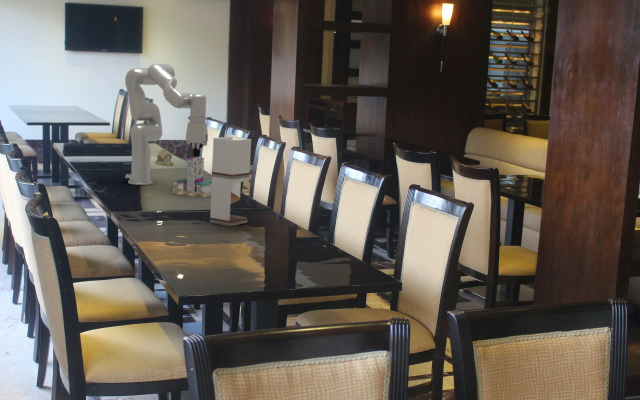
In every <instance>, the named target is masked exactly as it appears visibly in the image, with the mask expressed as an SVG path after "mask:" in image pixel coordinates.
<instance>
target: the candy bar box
mask: <svg viewBox="0 0 640 400" xmlns="http://www.w3.org/2000/svg"><path fill="white" fill-rule="evenodd" d="M204 163H205V157H200V156H199V157H194V156H193V157H191V158H187V159H186V178H187V190H186V191H187V192H197V183H200V182H204V173H205V172H204V170H205V166H204V165H205V164H204Z"/></svg>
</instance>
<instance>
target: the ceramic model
mask: <svg viewBox="0 0 640 400" xmlns="http://www.w3.org/2000/svg"><path fill="white" fill-rule="evenodd" d="M172 158H173V156H172V154H171V153H170V152H169V151H168V150H167V148H163V149H161V150H160V151H159V152H158V153H157V154H156V159H157V160H155V162H154V165H158V166H162V167H163V166H166V167H167V166H168V167H169V166H173V165H174V162H173V161H172Z"/></svg>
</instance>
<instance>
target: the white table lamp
mask: <svg viewBox="0 0 640 400" xmlns="http://www.w3.org/2000/svg"><path fill="white" fill-rule="evenodd" d="M251 147H252V139H251V138H248V139H246V138H245V139H233V136H227V137H223V136H221V137H213V138H212V164H211V166H212V167H211V168H212V169H211V181H212V186H211V196H210V213H209V214H210V215H209V216H210V218H209V223H212V224H217V225H221V226H222V225H223V226H229V227H232V226H233V227H234V226H236V225H241V224H246V223H248V217H247V216H246V217H245V216H241V215H240V216H239V215H234V214H231V205H232V204H234V203H237V202H238V201H240V199H241V187H242V185H241V183H242V182H249V181H250V177H251V176H250V171H251V170H250V169H251V151H252V150H251V149H252V148H251Z"/></svg>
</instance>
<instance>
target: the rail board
mask: <svg viewBox="0 0 640 400" xmlns="http://www.w3.org/2000/svg"><path fill="white" fill-rule="evenodd" d="M211 186H212V180H203V182H200V183H197V192H187V191H186V190H187V177H184V178H180V179H176V180H174V181H173V190H172V191H171V195H178V196H180V195H181V196H187V197H195V198H204V199H205V198H209V197H211Z"/></svg>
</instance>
